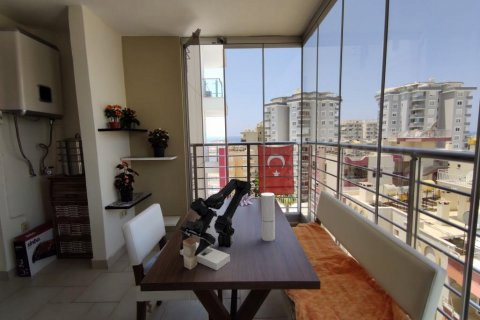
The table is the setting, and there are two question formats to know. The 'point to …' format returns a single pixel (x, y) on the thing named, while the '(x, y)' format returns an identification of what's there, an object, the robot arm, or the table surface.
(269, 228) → the cylindrical container
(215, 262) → the white slotted block
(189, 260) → the wooden peg
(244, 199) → the water lily
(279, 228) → the table surface
